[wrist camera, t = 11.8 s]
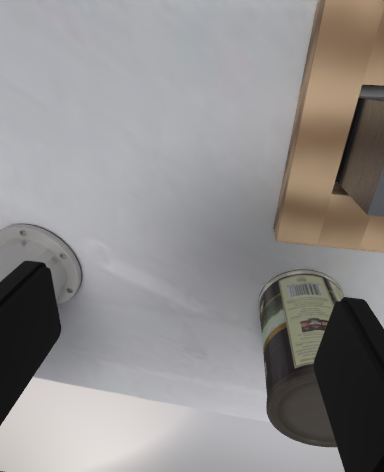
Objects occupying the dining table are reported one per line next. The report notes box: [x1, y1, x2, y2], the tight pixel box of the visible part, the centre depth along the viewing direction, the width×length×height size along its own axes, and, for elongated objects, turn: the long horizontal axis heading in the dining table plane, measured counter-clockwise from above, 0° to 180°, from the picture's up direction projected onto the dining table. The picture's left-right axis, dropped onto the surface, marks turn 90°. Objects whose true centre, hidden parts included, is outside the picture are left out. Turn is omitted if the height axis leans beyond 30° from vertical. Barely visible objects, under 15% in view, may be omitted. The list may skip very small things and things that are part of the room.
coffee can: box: [259, 270, 344, 447], centre depth 31 cm, size 10×10×14 cm
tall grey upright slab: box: [336, 96, 384, 217], centre depth 23 cm, size 7×3×10 cm, turn 178°
